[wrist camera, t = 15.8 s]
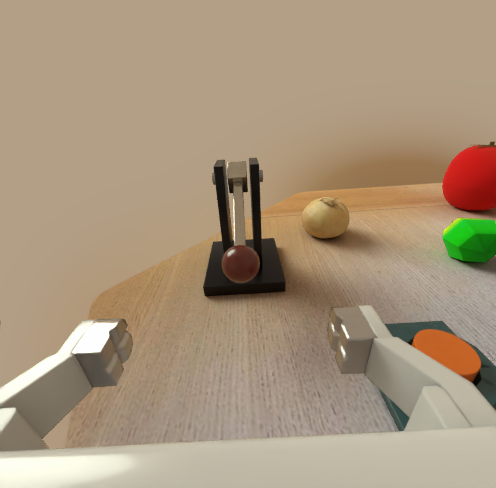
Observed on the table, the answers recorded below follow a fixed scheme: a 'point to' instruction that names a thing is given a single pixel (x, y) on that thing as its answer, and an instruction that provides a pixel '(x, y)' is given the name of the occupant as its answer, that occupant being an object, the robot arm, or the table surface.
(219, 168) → the bracket
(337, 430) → the table surface
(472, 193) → the tomato
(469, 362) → the button
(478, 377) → the button box
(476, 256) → the apple
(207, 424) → the table surface
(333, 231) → the onion
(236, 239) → the lever
